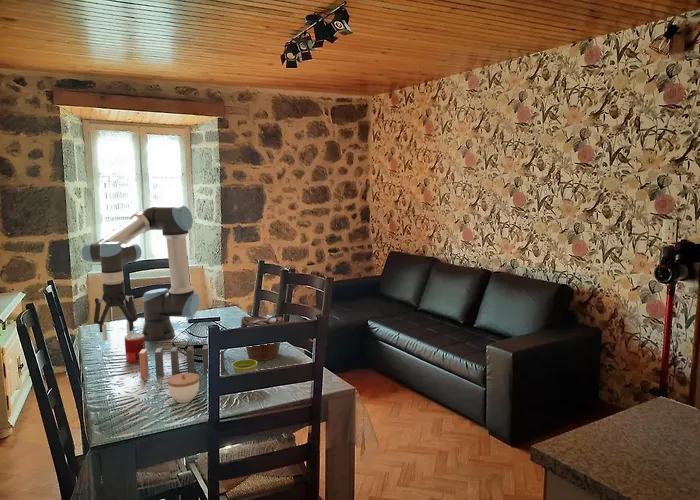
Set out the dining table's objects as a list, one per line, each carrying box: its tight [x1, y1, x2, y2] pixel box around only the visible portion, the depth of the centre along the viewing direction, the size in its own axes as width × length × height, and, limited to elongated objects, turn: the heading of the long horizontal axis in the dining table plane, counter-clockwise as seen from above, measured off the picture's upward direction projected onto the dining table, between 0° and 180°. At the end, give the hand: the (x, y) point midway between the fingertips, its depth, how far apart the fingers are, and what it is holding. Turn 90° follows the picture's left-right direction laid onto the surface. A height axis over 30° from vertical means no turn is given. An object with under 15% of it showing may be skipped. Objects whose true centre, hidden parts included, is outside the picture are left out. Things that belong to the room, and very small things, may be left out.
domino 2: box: [154, 347, 165, 378], centre depth 210 cm, size 5×2×10 cm, turn 10°
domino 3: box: [170, 346, 180, 376], centre depth 211 cm, size 5×2×10 cm, turn 9°
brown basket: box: [240, 315, 285, 361], centre depth 230 cm, size 18×20×18 cm
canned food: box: [124, 332, 146, 365], centre depth 225 cm, size 8×8×11 cm
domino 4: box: [186, 345, 196, 373], centre depth 212 cm, size 5×2×10 cm, turn 9°
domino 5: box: [201, 344, 209, 374], centre depth 213 cm, size 5×2×10 cm, turn 9°
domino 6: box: [220, 350, 226, 373], centre depth 214 cm, size 5×2×10 cm, turn 10°
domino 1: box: [139, 348, 150, 379], centre depth 209 cm, size 5×2×10 cm, turn 9°
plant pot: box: [231, 358, 258, 374], centre depth 198 cm, size 9×9×9 cm
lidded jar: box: [167, 372, 200, 403], centre depth 187 cm, size 11×11×9 cm
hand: (117, 339), depth 206 cm, fingers open, 8 cm apart
